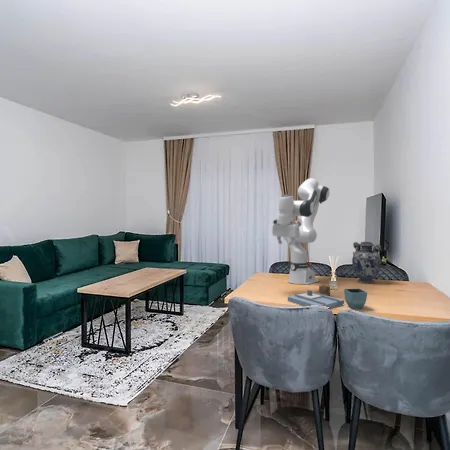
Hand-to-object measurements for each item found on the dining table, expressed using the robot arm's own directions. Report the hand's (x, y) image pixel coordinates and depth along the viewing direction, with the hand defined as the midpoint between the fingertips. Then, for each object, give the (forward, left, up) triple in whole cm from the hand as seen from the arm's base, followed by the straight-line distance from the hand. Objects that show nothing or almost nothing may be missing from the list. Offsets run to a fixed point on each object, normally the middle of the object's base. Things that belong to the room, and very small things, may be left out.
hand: (285, 244), depth 196 cm
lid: (-1, +19, -27) cm, 33 cm away
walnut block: (-16, +17, -30) cm, 38 cm away
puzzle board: (-1, +23, -30) cm, 38 cm away
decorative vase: (-71, +8, -30) cm, 77 cm away
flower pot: (-12, +40, -30) cm, 51 cm away
